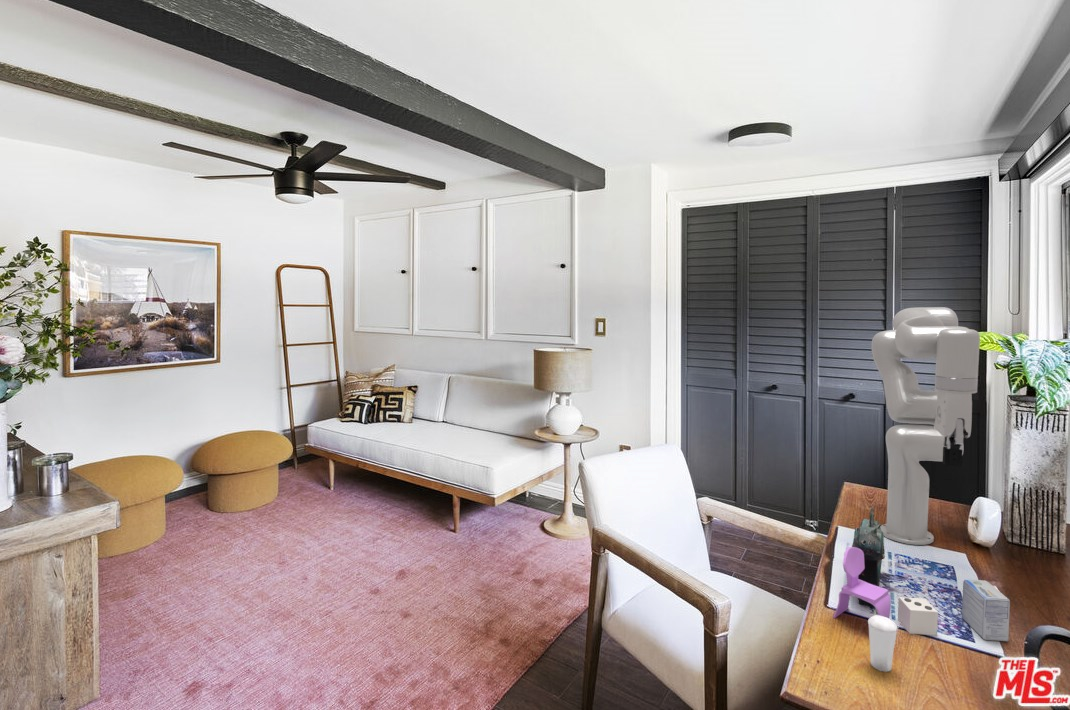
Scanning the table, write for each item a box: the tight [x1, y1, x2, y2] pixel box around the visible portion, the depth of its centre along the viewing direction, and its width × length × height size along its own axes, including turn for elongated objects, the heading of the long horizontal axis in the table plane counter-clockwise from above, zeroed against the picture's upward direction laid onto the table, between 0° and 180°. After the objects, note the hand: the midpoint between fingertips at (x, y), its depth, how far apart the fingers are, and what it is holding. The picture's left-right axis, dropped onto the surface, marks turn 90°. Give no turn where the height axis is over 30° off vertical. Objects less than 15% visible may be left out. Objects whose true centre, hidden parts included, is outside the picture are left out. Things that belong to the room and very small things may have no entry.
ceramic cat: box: [851, 507, 886, 609], centre depth 128 cm, size 20×6×20 cm, turn 148°
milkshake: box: [867, 614, 902, 673], centre depth 101 cm, size 4×5×10 cm
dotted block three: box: [897, 596, 939, 636], centre depth 113 cm, size 5×5×5 cm
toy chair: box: [832, 546, 892, 619], centre depth 115 cm, size 8×9×15 cm
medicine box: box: [961, 579, 1011, 642], centre depth 112 cm, size 8×4×9 cm, turn 168°
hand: (951, 465), depth 125 cm, fingers closed
